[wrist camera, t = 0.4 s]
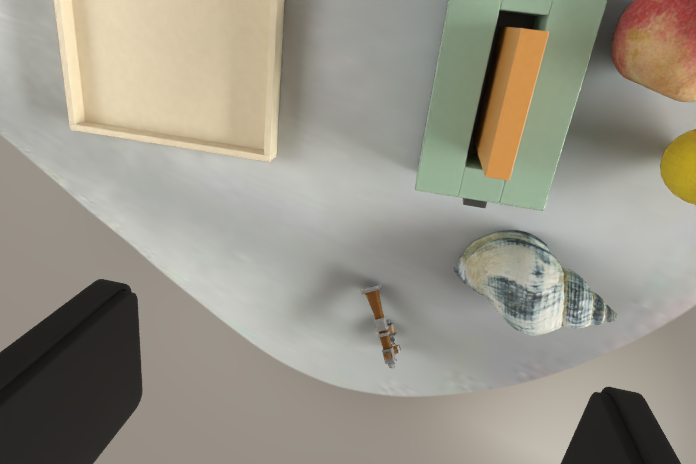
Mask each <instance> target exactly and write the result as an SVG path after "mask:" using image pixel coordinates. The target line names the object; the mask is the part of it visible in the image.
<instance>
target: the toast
mask: <svg viewBox="0 0 696 464" xmlns="http://www.w3.org/2000/svg"><path fill="white" fill-rule="evenodd" d="M548 35H549V32H548V31H540V30H532V29H524V28H513V27H500V29H499V34H498V38H497V43H496V47H495V52H494V56H493V60H492V65H491V69H490V74H489V78H488V82H487V87H486V91H485V96H484V100H483V104H482V109H481V113H480V118H479V122H478V127H477V131H476V135H475V140H474V143H475V147H476V150H477V153H478V156H479V159H480V162H481V165H482V169H483V172H484V175H485V177H489V178H495V179H502V180H508V181H509V180H510V177H511V174H512V170H513V166H514V162H515V159H516V155H517V151H518V147H519V144H520V140H521V136H522V133H523V129H524V125H525V121H526V118H527V114H528V110H529V106H530V103H531V99H532V95H533V91H534V88H535V84H536V80H537V76H538V73H539V69H540V65H541V61H542V58H543V54H544V50H545V46H546V43H547V39H548Z"/></svg>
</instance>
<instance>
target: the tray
mask: <svg viewBox="0 0 696 464" xmlns="http://www.w3.org/2000/svg"><path fill="white" fill-rule="evenodd" d="M284 4H285V0H54V7H55V15H56V23H57V31H58V39H59V47H60V55H61V63H62V70H63V78H64V86H65V94H66V102H67V110H68V118H69V123H70V124H69V125H70V130H75V131H81V132H87V133H94V134H100V135H106V136H112V137H118V138H125V139H131V140H137V141H143V142H149V143H155V144H162V145H168V146H174V147H180V148H186V149H192V150H199V151H205V152H211V153H217V154H223V155H230V156H236V157H242V158H248V159H254V160H260V161H267V162H270V161H271V160H272V159H274V158H275V157H276V153H277V135H278V116H279V97H280V79H281V60H282V41H283V23H284Z"/></svg>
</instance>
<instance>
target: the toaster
mask: <svg viewBox="0 0 696 464" xmlns="http://www.w3.org/2000/svg"><path fill="white" fill-rule="evenodd" d="M607 1H608V0H448V5H447V10H446V16H445V21H444V27H443V32H442V38H441V43H440V49H439V54H438V60H437V65H436V71H435V76H434V82H433V87H432V93H431V98H430V104H429V109H428V115H427V120H426V126H425V131H424V137H423V142H422V148H421V153H420V159H419V164H418V170H417V177H416V185H415V190H418V191H424V192H430V193H436V194H442V195H448V196H454V197H461V198H463V204H464V205H468V206H474V207H481V208H486V204H487V202H492V203H500V204H504V205H510V206H516V207H523V208H529V209H535V210H541V211H543V210H544V207H545V204H546V201H547V197H548V194H549V191H550V187H551V184H552V181H553V178H554V174H555V171H556V168H557V165H558V161H559V158H560V155H561V152H562V148H563V145H564V142H565V138H566V135H567V132H568V129H569V125H570V122H571V119H572V116H573V112H574V109H575V106H576V103H577V99H578V96H579V93H580V89H581V86H582V83H583V80H584V76H585V73H586V70H587V67H588V63H589V60H590V57H591V54H592V50H593V47H594V44H595V40H596V37H597V34H598V31H599V27H600V24H601V21H602V18H603V14H604V11H605V8H606V5H607ZM500 27H513V28H524V29H532V30H540V31H548V32H549V35H548V39H547V43H546V46H545V50H544V54H543V58H542V61H541V65H540V69H539V73H538V76H537V80H536V84H535V88H534V91H533V95H532V99H531V103H530V106H529V110H528V114H527V118H526V121H525V125H524V129H523V133H522V136H521V140H520V144H519V147H518V151H517V155H516V159H515V162H514V166H513V170H512V174H511V177H510V180H509V181H508V180H502V179H495V178H489V177H485V175H484V172H483V169H482V165H481V162H480V159H479V156H478V153H477V150H476V147H475V143H474V140H475V135H476V131H477V127H478V122H479V118H480V113H481V109H482V104H483V100H484V96H485V91H486V87H487V82H488V78H489V74H490V69H491V65H492V60H493V56H494V52H495V47H496V43H497V38H498V34H499V29H500Z"/></svg>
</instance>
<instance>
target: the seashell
mask: <svg viewBox="0 0 696 464" xmlns="http://www.w3.org/2000/svg"><path fill="white" fill-rule="evenodd" d="M454 272H456V273H457V275H458V276H459V277H460V279H461V280H462V281H463V282H464V283H465V284H467V285H468V286H470V287H471V288H472V289H473V290H475V291H476V292H478V293H480V294H482V295H485V296H486V297H487V298H488V300H489V301H490V302H491V304H492V305H493V306H494V308H495V309H496V310H497V312H498V313H499V314H500V315H501V316H502V317H503V319H504V320H505V321H506V322H507V323H508V324H510V325H511V326H512V327H513V328H515V329H517V330H519V331H520V332H522V333H525V334H528V335H541V334H545V333H549V332H551V331H553V330H557V329H559V328H560V327H561V326H565V327H568V328H573V329H577V328H583V327H586V326H589V325H590V324H594V325H599V324H602V323H604V322H611V321H616V313H615V312H614V311H613V310H612V309H611V308H610V307H609V306H608V305H606V304H605V303H604V301H603V300H602V298H601V297H600V296H599V295H597V294H596V293H594V292H592V291H590V288H589V287H588V285H587V284H586V282H585V281H584V280H583V279H582V278H581V277H580V276H578V275H577V274H575V273H574V272H573V271H571V270H569V269H565V268H562V267H561V265H560V263H559V262H558V260H557V259H556V258H555V256H554V255H552V254H551V253H550V251H549V249H548V247H547V245H546V244H545V243H544V242H543V241H541V240H540V239H538V238H537V237H535V236H533V235H531V234H529V233H526V232H522V231H501V232H497V233H493V234H490V235H488V236H485V237H483V238H480V239H477V240H475V241H474V242H472V243H471V244H470V245H469V246H468V247H467V249H466V251H465V253H464V254H463V255H462V256H461V257H460V258H459V263H458V265H457V266H456V267H455V268H454Z"/></svg>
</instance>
